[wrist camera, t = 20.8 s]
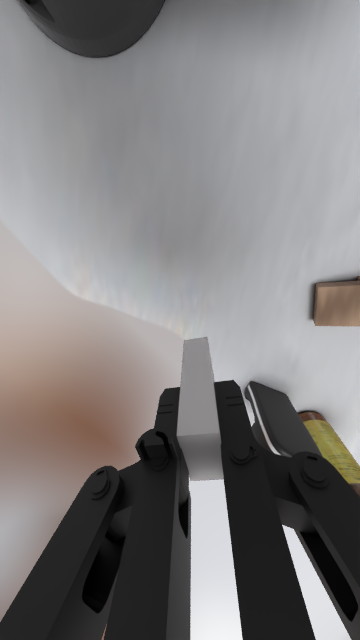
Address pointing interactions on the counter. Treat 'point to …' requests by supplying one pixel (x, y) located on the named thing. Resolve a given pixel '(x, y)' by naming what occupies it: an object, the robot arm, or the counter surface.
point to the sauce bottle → (332, 448)
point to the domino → (337, 304)
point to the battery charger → (278, 423)
